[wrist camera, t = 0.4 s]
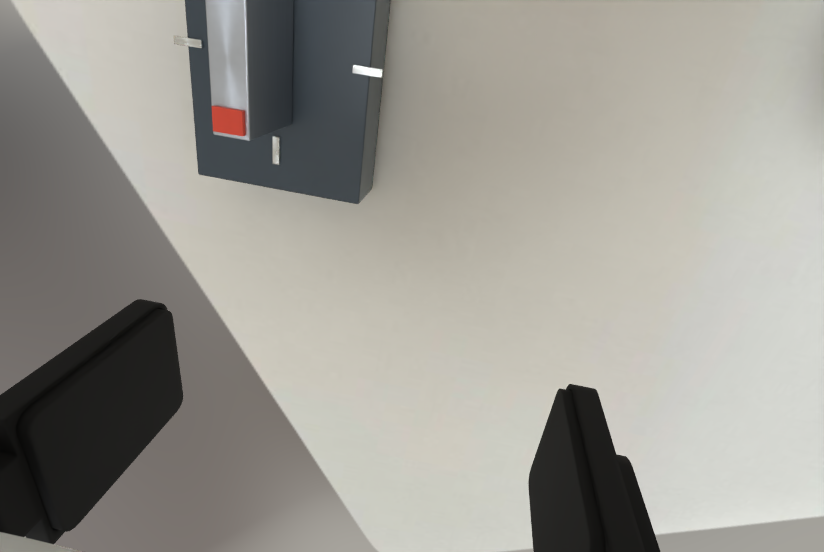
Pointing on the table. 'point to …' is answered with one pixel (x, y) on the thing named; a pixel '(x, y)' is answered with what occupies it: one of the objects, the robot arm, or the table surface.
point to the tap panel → (305, 103)
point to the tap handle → (250, 66)
